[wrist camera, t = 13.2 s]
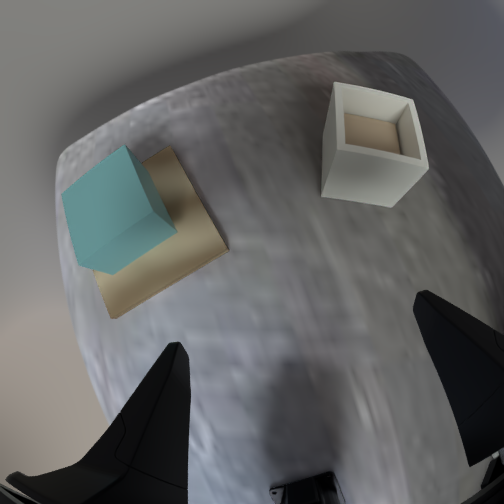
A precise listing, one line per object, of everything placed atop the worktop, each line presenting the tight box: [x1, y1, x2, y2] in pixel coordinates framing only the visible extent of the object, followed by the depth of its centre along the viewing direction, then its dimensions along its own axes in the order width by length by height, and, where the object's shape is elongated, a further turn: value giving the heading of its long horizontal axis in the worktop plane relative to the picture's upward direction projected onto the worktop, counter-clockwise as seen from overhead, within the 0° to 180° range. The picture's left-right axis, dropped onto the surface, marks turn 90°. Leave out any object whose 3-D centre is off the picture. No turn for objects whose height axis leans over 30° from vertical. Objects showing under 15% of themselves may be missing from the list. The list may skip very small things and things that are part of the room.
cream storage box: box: [321, 82, 429, 208], centre depth 21 cm, size 7×7×8 cm
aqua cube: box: [61, 145, 177, 275], centre depth 21 cm, size 7×7×6 cm
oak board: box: [93, 146, 229, 319], centre depth 25 cm, size 13×13×1 cm
